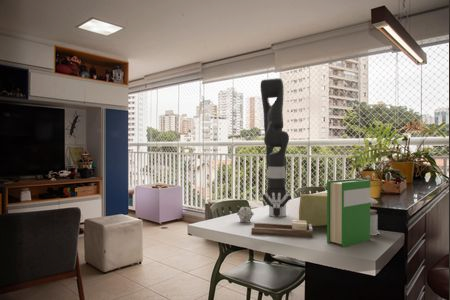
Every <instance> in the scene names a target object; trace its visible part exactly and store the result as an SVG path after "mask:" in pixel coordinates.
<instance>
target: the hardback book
mask: <svg viewBox="0 0 450 300" xmlns="http://www.w3.org/2000/svg"><path fill="white" fill-rule="evenodd" d="M326 193H327V225H326V243H328V244H331V243H336V244H338V245H341V247H342V248H346V247H350V245H351V246H354V245H357V244H361V243H364V242H368V241H370V240H371V235H370V209H371V204H370V198H371V180H370V179H360V178H347V179H346V178H345V179H335V180H327V181H326Z"/></svg>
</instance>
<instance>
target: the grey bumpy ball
mask: <svg viewBox="0 0 450 300" xmlns="http://www.w3.org/2000/svg"><path fill="white" fill-rule="evenodd" d="M239 206H240V207H239V209H238V212H236V214H237V216H238V217H239V219H240V221H239V223H241V222H249V223H252V222H251V219H252V217H253V216H254V212H253V211H252V209H251V207H252V206H251V205H249V206H242V205H239Z"/></svg>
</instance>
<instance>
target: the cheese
mask: <svg viewBox="0 0 450 300" xmlns="http://www.w3.org/2000/svg"><path fill="white" fill-rule="evenodd" d="M298 220H301V221H306V222H307V225H308V224H311V225H312V227H319V226H320V227H322V226H324V227H325V226H327V192H321V193H311V194H310V193H309V194H305V193H304V194H301V195H300V199H299V207H298Z"/></svg>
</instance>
